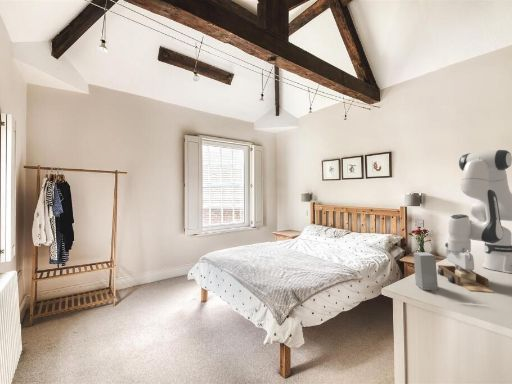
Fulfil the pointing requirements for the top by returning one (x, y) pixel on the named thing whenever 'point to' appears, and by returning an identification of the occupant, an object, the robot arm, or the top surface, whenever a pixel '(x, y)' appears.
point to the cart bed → (453, 278)
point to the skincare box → (425, 271)
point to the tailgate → (477, 288)
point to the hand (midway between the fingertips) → (459, 274)
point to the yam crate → (466, 276)
